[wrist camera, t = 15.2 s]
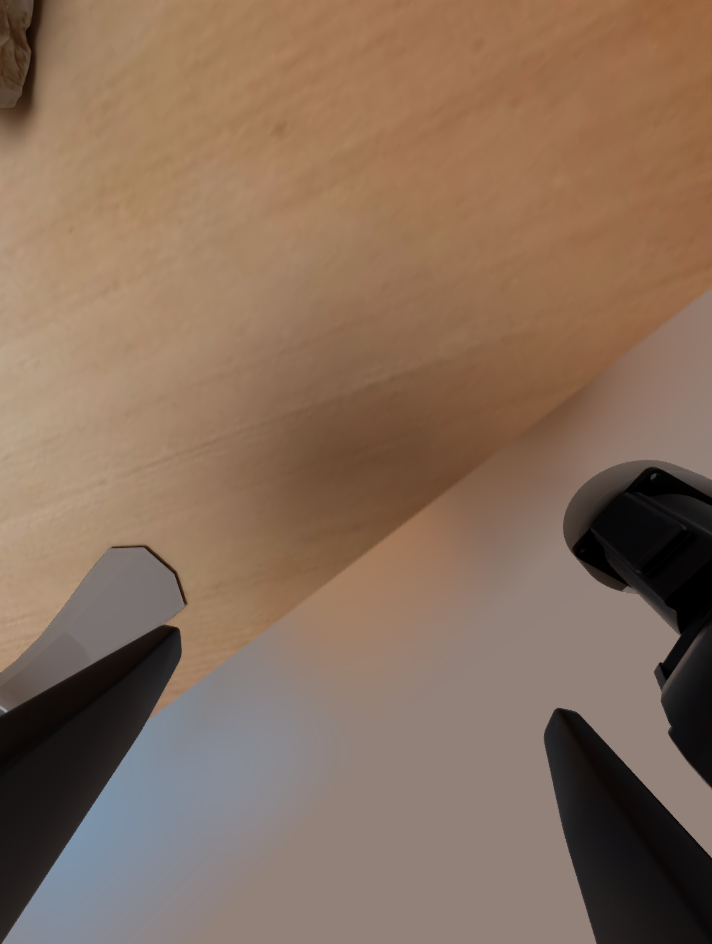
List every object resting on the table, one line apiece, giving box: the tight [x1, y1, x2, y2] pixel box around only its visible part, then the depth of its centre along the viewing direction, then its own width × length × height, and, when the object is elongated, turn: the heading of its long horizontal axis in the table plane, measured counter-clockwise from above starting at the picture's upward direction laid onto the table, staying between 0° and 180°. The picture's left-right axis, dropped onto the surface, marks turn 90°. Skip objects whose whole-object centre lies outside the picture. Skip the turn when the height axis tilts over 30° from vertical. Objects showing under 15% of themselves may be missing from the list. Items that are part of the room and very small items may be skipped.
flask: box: [0, 547, 185, 716], centre depth 21 cm, size 7×7×10 cm
